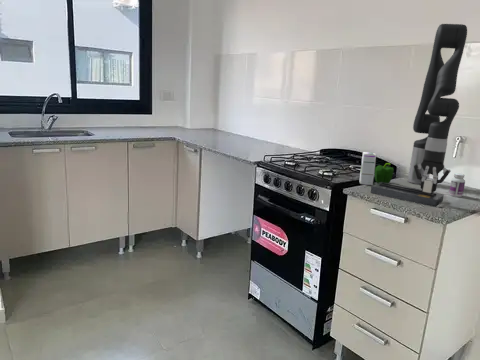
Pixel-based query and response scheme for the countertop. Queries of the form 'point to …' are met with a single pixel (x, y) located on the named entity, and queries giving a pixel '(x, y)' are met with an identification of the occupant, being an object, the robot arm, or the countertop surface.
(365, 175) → the syrup box
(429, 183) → the fader knob
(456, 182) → the pill bottle
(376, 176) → the bell pepper
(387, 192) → the slider panel
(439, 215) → the countertop surface
